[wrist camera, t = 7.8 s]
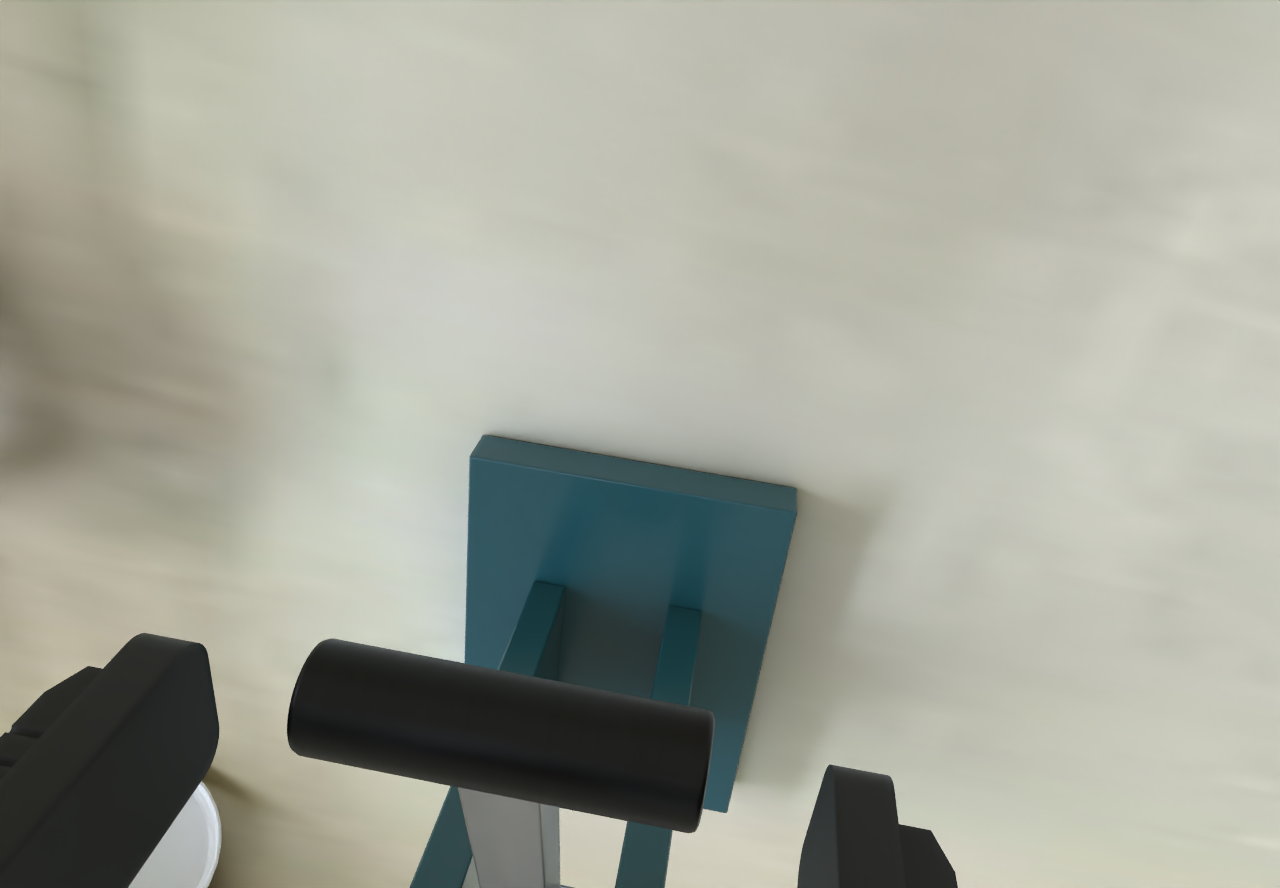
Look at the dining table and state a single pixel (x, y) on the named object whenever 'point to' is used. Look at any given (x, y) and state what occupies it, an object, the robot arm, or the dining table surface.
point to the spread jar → (186, 847)
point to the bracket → (618, 603)
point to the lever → (504, 748)
